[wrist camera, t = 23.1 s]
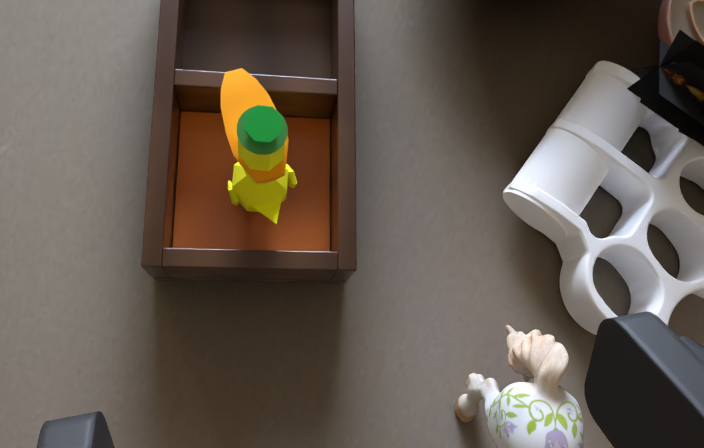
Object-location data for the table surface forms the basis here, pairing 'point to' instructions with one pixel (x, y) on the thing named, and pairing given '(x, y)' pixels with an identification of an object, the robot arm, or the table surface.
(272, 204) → the toy figure
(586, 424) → the table surface
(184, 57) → the divided wooden tray
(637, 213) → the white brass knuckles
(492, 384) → the unicorn figurine
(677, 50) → the rocket
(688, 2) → the mitochondrion model
